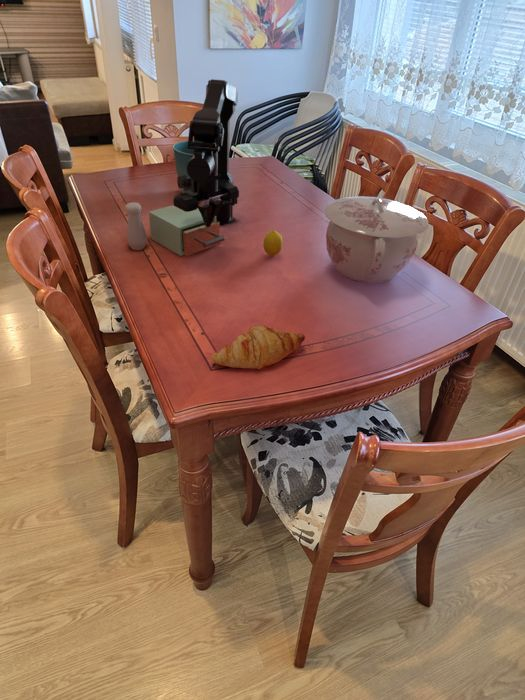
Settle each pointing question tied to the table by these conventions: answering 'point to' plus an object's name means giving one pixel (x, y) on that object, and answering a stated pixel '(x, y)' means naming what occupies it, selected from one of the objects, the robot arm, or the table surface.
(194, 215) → the pale green box
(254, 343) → the croissant
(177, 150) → the flower pot
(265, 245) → the lemon
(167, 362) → the table surface
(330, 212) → the chamber pot
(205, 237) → the drawer
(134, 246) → the salt shaker
